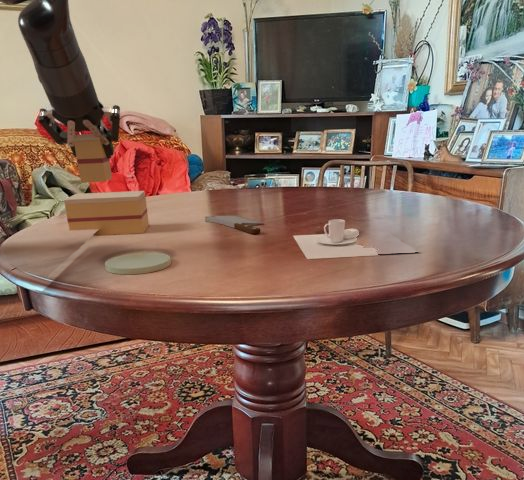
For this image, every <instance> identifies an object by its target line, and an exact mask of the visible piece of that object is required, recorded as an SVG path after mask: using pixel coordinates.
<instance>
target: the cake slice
mask: <svg viewBox="0 0 524 480" xmlns="http://www.w3.org/2000/svg"><path fill="white" fill-rule="evenodd" d="M73 139H74V138H73ZM74 145H75V151H76V156H77V157H76V164H77V167H78V168H77V169H78V173H79V179H80V183H81V184H82V183H101V182H108V181H110V180H112V179H113V174H112V169H111V167H112V166H111V158H110V159H107V157H106V154H105V151H104V148H103V146H102V142H101V141H100V138H99V137H97V138H96V137H95V136H94V135H93V133H83V134H75V139H74Z"/></svg>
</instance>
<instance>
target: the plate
mask: <svg viewBox="0 0 524 480" xmlns="http://www.w3.org/2000/svg"><path fill="white" fill-rule="evenodd" d="M171 264H172V259H171V256H170V255H168V254H166V253H162V252H152V251H151V252H149V251H147V252H134V253H126V254H122V255H117V256H113V257H111V258H108V259H107V260H106V261H104V268H105V271H106V272H108V273H111V274H115V275H140V274H141V275H142V274H149V273H154V272H158V271H162V270H164V269H166V268H168V267H170V266H171Z"/></svg>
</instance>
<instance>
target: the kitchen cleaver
mask: <svg viewBox="0 0 524 480" xmlns="http://www.w3.org/2000/svg"><path fill="white" fill-rule="evenodd" d="M204 222H207V223H209V222H210V223H214V224H219V225H223V226H227V227H230V228H233V229H236V230H239V231H242V232H245V233H248V234H251V235H260V234H261V228H260V227H255V226H259V225H264V224H265V223H264V222H261V221H258V220H255V219H252V218H247V217H244V216H239V215H205V216H204Z"/></svg>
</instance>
